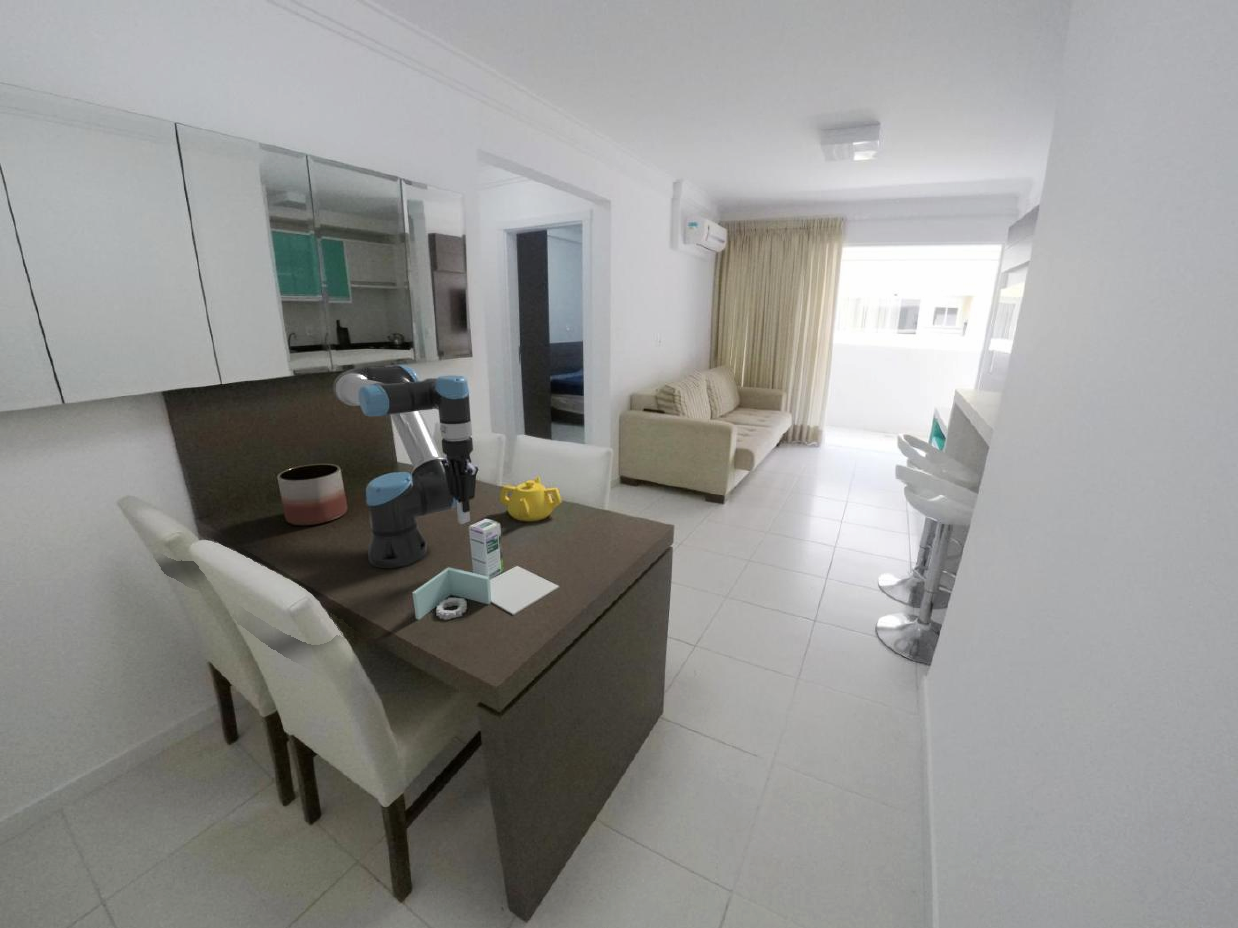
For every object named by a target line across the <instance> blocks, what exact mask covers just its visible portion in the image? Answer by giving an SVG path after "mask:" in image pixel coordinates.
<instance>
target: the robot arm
mask: <svg viewBox="0 0 1238 928" xmlns="http://www.w3.org/2000/svg"><path fill="white" fill-rule="evenodd" d="M333 394H335V397H336V398H337V400H338V401H340V402H341V403H343V404H345V405H347V406H351V407H357V406H360V409H361V411H362V413H363V414H364V416H367V417H384V416H387V415H389V416H390V417H391V419H392V422H393V424H394V426H395V429H396V431H397V433H398V435H399V438H400V440H401V442H402V445H403V447H404V449H405V451H406V454H407V456H408V458H409V460H410V462H411V464H412V467H413V470H412V471H411V474H410V473H409V472H407V471H398V472H396V471H395V472H389V473H386V474H382V475H380V476H378V477H375V478H374V479H372V480H371V481H370V482H369V483H367V485H366V488H365V496H366V499H365V503H366V505H367V509H368V511H367V512H368V516H369V517H368V518H369V523H370V530H371V538H370V542H369V547H368V551H367V557H368V561H369V564H370V565H371V566H373V567H376V568H380V569H394V568H397V569H398V568H402V567H406V566H409V565H412V564H414V563H416V562H418V561H420V560H421V559H423V557H425V556H426V554H427V552H428V547H427V543H426V540H425V538H424V536H423V534H422V532H421V530H420V528H419V526H418V517H422V516H423V517H424V516H427V515H431V514H435V513H439V512H443V511H446V510H451V509H454V508H456V510H457V511H456V512H457V521H458V524H461V525H464V524H466V523H468V522H471V512H470V510H471V508H470V507H471V506H470V501H471V500H474V499H475V497H476V495H475V494H476V493H475V492H476V485H477V483H476V482H477V474H478V471H479V467H478V466H474V465H473V464H472V459H471V453H472V452H473V451H474V444H473V443H474V441H473V437H472V436H473V430H472V429H473V428H472V420H471V408H470V407H471V405H470V390H469V385H468V379H467V377H465V376H463V375H442V376H438V377H437V378H436V377H435V378H434V377H433V378H430V377H429V378H425V379H423V380H420V379H419V377H418V375H417V372H415V370H414V369H413V368H412V367H410V366H408V365H399V364H392V365H389V366H388V365H385V366H368V367H367V366H366V367H364V366H363V367H355V368H351V369H348V370H346V371H344V372H342V373H341V374H339V375H338V376H337V377H336V379H335V380H334V382H333ZM431 410H438V417H439V425H440V428H439V430H440V436H441V438H442V439H441V449H442V453H443V454H444V455H445V456H446V458H445V457H443V456H442V454H441V452H440V450H439V447H438V446H437V444H436V442H435V439H434V437H433V435H432V433H431V431H430V429H429V427H428V424H427V422H426V419H425V418H424V415H423V413H422V412H423V411H431Z"/></svg>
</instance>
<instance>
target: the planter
mask: <svg viewBox="0 0 1238 928" xmlns="http://www.w3.org/2000/svg"><path fill="white" fill-rule="evenodd" d="M276 478H277V482H278V483H277V484H278V487H279V492H280V498H281V503H282V507H283V513H284V517H285V521H286V522H287V523H289V524H292V525H296V526H316V525H320V524H325V523H328V522H332V521H335V520H336V519H339V518H340V517H342V516H343V515H345V513H346V512H347V511H348V503H347V502H348V501H347V498H346V492H345V486H344V482H343V475H342V470H341V468H340V466H338V465H337V464H332V463H313V464H305V465H299V466H296V467H291V468H288V469H285V470H283V471H281V472H279V473H278V474H277V477H276Z"/></svg>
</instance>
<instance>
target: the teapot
mask: <svg viewBox="0 0 1238 928" xmlns="http://www.w3.org/2000/svg"><path fill="white" fill-rule="evenodd" d="M508 492H510V493H511V494H510V497H508ZM551 494H552V496H551ZM552 497H553V499H552ZM498 501H499V502H501V503H502V504H503V505H504V506H505V507H507V513H509V515H510V516H511V517H512V518H513V519H515V520H516V521H520V522H521V521H522V522H537V521H541V520H544V519H546V518H548V517H549V515H551V513H552V512H553V510H554V509H555V508H557V507H558V506H559V505H561V503H562V502H563V500H562V496H561V494H560V491H559V488H558V487H550V488H549V487H548V488H546V487H545V485H543V484H542V483H541V477H535V478H534V480H532V479H531V480H529V479H528V480H526V481H524V482H523V483H520V484H518V485H517V486H512V485H509V484H503V486H502V488H501V492H500V495H499V498H498Z"/></svg>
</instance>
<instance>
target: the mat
mask: <svg viewBox="0 0 1238 928" xmlns="http://www.w3.org/2000/svg"><path fill="white" fill-rule="evenodd" d="M490 588H491V604H493V605H495V606H497V607H498V608H500V609H502V610H504V611H506V612H507V613H509V614H511V615H512V616H515V615H516V614H518V613H520V612H522V611H523V610H525V609H526V608H528V607H530V606H531V605H533V604H535V603H536V602H537V601H539V600H541V599H543V598H544V597H547V596H548V595H549V594H551V593H552V592H554V591H556V590H558V589H559V588H560V585H558V584H556V583H553V582H551V581H550V580H547V579H545V578H543V577H540V576H539V575H537V574H535V573H533V572H530V571H529V570H528V569H524V568H522V567H520V566H518V565H515V566H514V567H513V568H510V569H509V570H508V569H507V570H506V571H503V572H502V573H500V574H498V575H496V576H495V577H493V578H491V579H490Z"/></svg>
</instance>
